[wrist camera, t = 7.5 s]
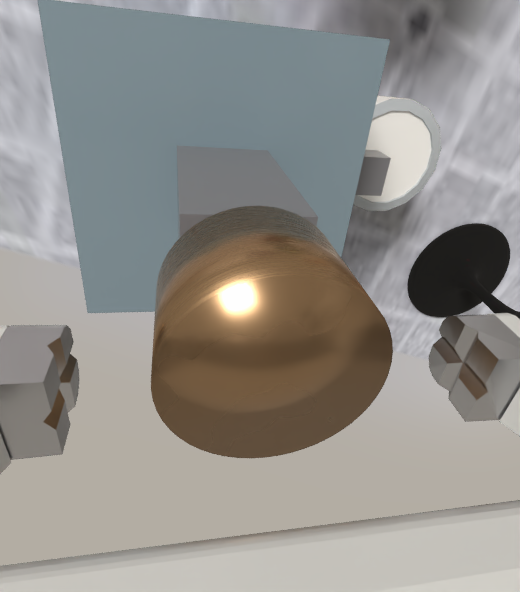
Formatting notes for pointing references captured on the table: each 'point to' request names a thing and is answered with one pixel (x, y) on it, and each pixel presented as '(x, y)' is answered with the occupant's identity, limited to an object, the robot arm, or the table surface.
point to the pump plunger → (262, 336)
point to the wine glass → (460, 271)
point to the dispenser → (201, 132)
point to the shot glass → (402, 150)
